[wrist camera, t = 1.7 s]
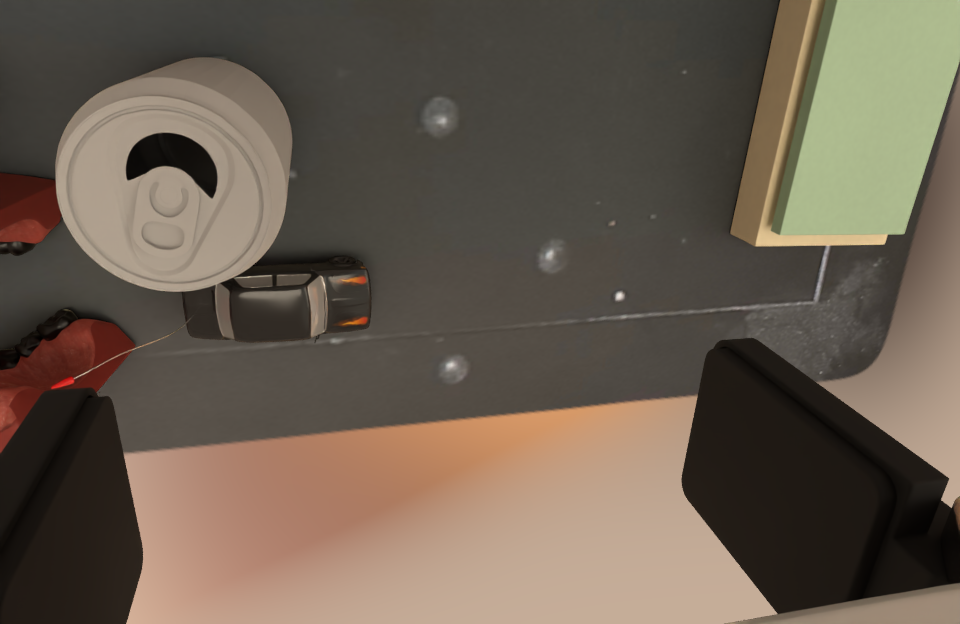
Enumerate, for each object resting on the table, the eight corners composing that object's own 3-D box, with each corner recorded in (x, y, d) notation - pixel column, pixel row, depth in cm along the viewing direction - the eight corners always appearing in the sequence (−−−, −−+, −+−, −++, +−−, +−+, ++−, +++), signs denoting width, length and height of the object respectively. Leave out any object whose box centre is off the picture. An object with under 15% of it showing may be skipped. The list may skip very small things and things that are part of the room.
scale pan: (831, -26, 30) (843, -27, 29) (968, -12, 32) (983, -13, 31) (769, 231, 35) (779, 235, 34) (892, 230, 37) (904, 234, 36)
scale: (789, -46, 32) (831, -51, 30) (929, -31, 34) (980, -35, 32) (729, 233, 38) (760, 249, 35) (853, 232, 40) (891, 247, 37)
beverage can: (305, 80, 29) (304, 116, 19) (278, 218, 32) (265, 321, 21) (147, 36, 27) (46, 48, 17) (130, 186, 29) (30, 283, 19)
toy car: (369, 321, 34) (385, 399, 27) (114, 335, 32) (59, 426, 25) (367, 249, 33) (384, 312, 26) (99, 258, 30) (36, 331, 23)
